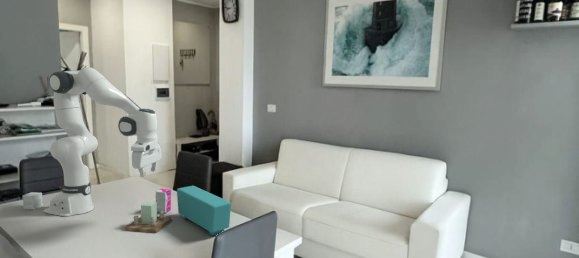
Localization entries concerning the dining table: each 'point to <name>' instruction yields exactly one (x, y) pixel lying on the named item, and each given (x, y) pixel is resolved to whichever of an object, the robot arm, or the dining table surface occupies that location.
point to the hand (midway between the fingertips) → (148, 173)
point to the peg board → (147, 227)
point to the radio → (204, 209)
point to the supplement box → (163, 200)
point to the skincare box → (32, 200)
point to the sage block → (148, 212)
